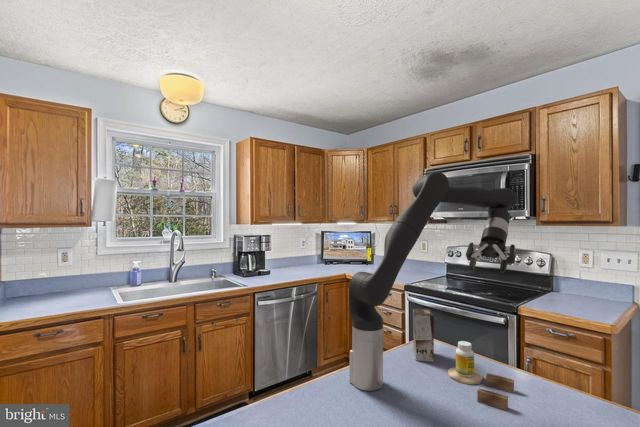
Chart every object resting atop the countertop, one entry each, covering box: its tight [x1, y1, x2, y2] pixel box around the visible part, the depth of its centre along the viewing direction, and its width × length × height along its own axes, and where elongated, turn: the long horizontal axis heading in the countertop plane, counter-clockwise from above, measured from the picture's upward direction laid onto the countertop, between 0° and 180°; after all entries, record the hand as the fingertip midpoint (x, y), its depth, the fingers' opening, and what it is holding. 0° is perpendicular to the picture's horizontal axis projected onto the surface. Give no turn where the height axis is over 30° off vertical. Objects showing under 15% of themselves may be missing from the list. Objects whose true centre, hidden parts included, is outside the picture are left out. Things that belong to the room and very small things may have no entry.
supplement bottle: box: [455, 340, 475, 377], centre depth 105 cm, size 5×5×10 cm
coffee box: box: [412, 308, 435, 363], centre depth 120 cm, size 9×6×16 cm
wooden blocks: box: [476, 372, 515, 412], centre depth 93 cm, size 7×13×3 cm, turn 142°
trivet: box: [447, 366, 483, 385], centre depth 104 cm, size 10×10×1 cm
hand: (486, 270), depth 105 cm, fingers open, 8 cm apart
